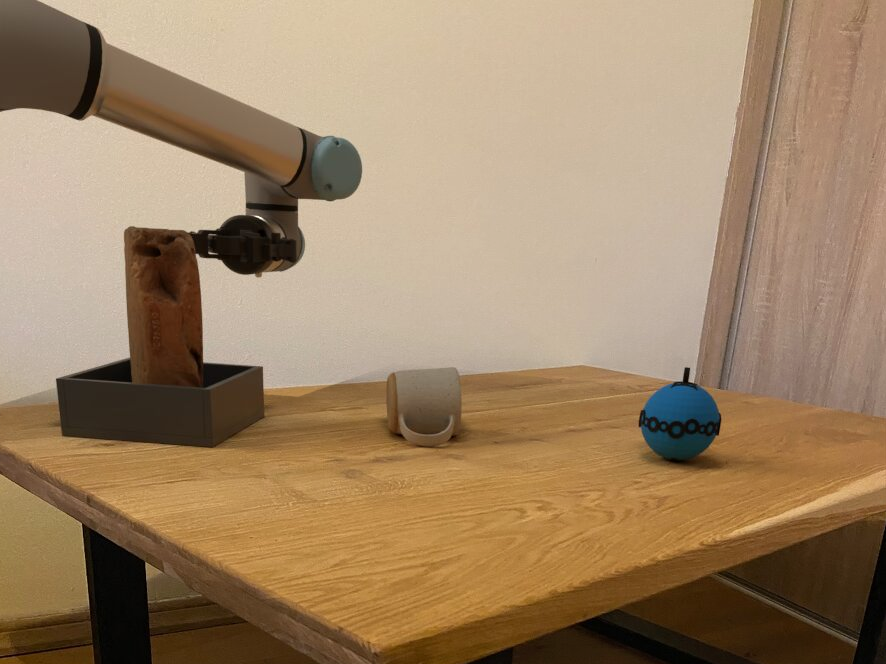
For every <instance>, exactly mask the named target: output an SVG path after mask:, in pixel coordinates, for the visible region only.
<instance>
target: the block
mask: <svg viewBox="0 0 886 664" xmlns="http://www.w3.org/2000/svg"><path fill="white" fill-rule="evenodd" d="M123 244H124V246H123V247H124V248H123V253H124V264H125V265H124V275H125V301H126V318H127V319H126V321H127V332H128V334H127V335H128V348H129V358H130V362H131V375H132V383H144V384H158V385H171V386H185V387H199V388H203V362H204V330H203V329H204V328H203V327H204V325H203V308H202V304H203V303H202V291H201V280H200V279H201V278H200V270H199V264H198V258H197V254H196V252H195V246H194V242H193V239H192V237H191V235H190V234H189V233H187V230H183V229H169V228H154V227H137V226H135V225H134V226H133V225H131V226H128V227H127V228H125V229H124V232H123Z"/></svg>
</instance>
